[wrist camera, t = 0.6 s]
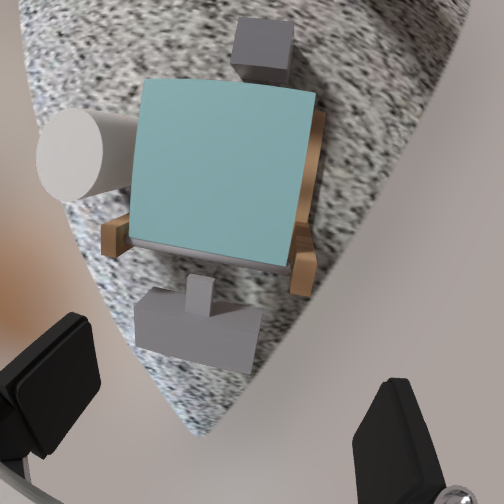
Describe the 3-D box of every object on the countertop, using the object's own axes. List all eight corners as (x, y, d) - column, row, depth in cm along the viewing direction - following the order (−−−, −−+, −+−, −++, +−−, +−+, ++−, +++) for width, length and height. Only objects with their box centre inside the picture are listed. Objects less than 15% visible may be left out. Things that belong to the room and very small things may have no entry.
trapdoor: (157, 86, 22) (135, 76, 18) (317, 101, 21) (321, 90, 17) (141, 320, 28) (122, 342, 25) (270, 349, 28) (266, 377, 24)
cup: (147, 104, 31) (85, 89, 20) (172, 166, 33) (116, 174, 22) (95, 138, 33) (27, 140, 22) (118, 196, 35) (53, 216, 24)
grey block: (248, 38, 28) (238, 17, 22) (294, 43, 27) (294, 22, 22) (241, 78, 29) (230, 63, 24) (288, 84, 29) (286, 69, 23)
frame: (179, 95, 31) (116, 68, 18) (327, 113, 29) (349, 86, 17) (164, 233, 36) (101, 275, 23) (301, 258, 34) (304, 319, 22)
